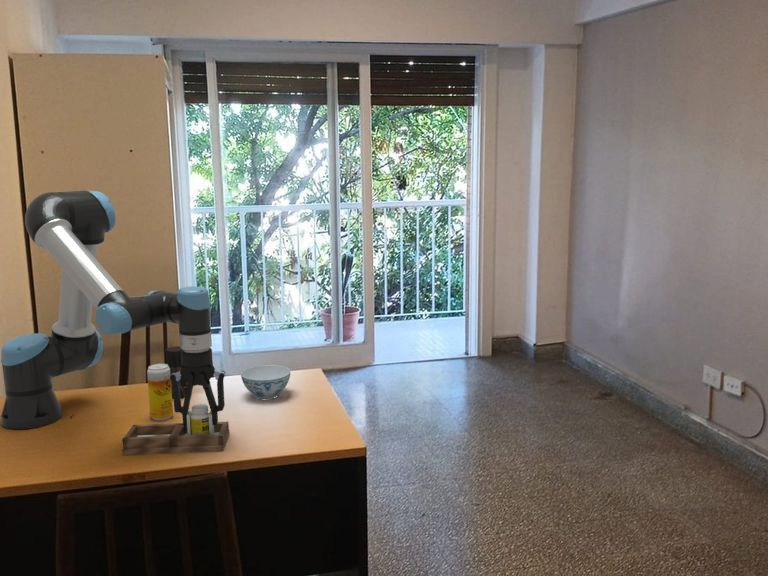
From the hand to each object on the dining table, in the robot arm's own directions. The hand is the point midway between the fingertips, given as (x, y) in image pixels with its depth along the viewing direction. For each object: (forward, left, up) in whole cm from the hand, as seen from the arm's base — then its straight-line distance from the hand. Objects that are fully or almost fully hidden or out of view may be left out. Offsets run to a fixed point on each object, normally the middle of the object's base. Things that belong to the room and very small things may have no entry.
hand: (201, 436), depth 171 cm
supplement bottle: (0, 0, -1) cm, 1 cm away
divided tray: (-6, 0, -2) cm, 6 cm away
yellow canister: (-14, +19, -2) cm, 24 cm away
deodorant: (-13, +37, -2) cm, 39 cm away
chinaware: (+14, +34, -2) cm, 37 cm away
